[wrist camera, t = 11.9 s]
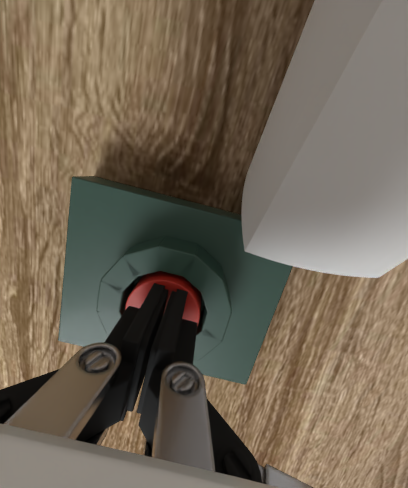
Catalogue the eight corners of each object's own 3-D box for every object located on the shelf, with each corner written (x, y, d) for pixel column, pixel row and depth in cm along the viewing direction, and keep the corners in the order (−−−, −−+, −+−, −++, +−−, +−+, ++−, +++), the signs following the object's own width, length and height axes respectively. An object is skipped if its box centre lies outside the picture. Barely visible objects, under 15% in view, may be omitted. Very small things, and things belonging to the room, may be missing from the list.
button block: (77, 319, 16) (36, 364, 13) (93, 175, 14) (46, 176, 10) (242, 358, 17) (250, 413, 13) (290, 227, 14) (320, 247, 10)
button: (131, 315, 13) (119, 336, 12) (142, 258, 12) (131, 271, 11) (193, 330, 13) (190, 353, 12) (208, 274, 12) (208, 290, 11)
